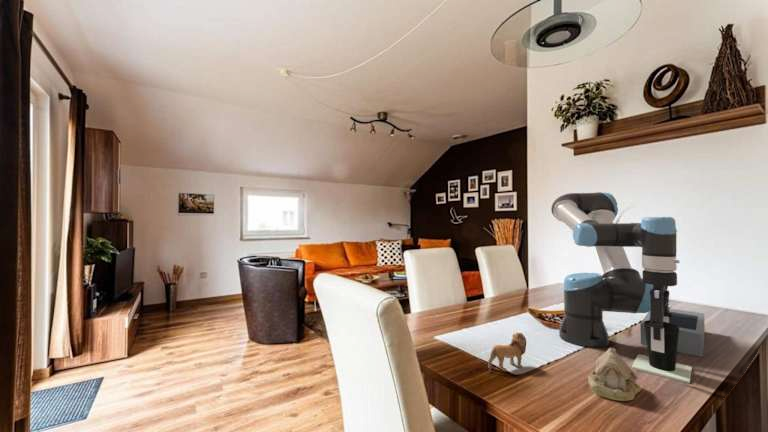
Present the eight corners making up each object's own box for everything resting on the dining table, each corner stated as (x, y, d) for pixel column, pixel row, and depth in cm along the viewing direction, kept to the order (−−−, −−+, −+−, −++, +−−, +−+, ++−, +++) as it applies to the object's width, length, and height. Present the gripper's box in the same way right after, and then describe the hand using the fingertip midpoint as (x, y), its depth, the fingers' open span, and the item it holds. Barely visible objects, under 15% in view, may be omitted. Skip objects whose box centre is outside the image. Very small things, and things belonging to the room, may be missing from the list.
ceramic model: (589, 371, 89) (588, 336, 90) (640, 383, 83) (639, 345, 83) (584, 393, 78) (583, 352, 78) (643, 409, 71) (642, 364, 72)
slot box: (640, 343, 109) (640, 323, 109) (653, 323, 131) (652, 306, 131) (702, 357, 98) (702, 334, 98) (704, 331, 120) (704, 313, 120)
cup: (637, 361, 94) (636, 320, 94) (661, 360, 95) (660, 319, 95) (662, 373, 86) (661, 329, 87) (688, 372, 87) (687, 328, 87)
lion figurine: (516, 358, 98) (515, 329, 98) (531, 364, 94) (531, 334, 94) (482, 369, 91) (481, 337, 91) (497, 377, 86) (496, 343, 87)
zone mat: (631, 368, 91) (631, 366, 91) (638, 356, 99) (638, 354, 99) (689, 383, 82) (689, 381, 82) (691, 368, 90) (691, 366, 90)
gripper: (672, 277, 80) (674, 362, 80) (680, 266, 97) (681, 336, 97) (635, 274, 85) (636, 353, 85) (648, 264, 103) (649, 330, 102)
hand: (660, 344), depth 91 cm, fingers open, 13 cm apart
